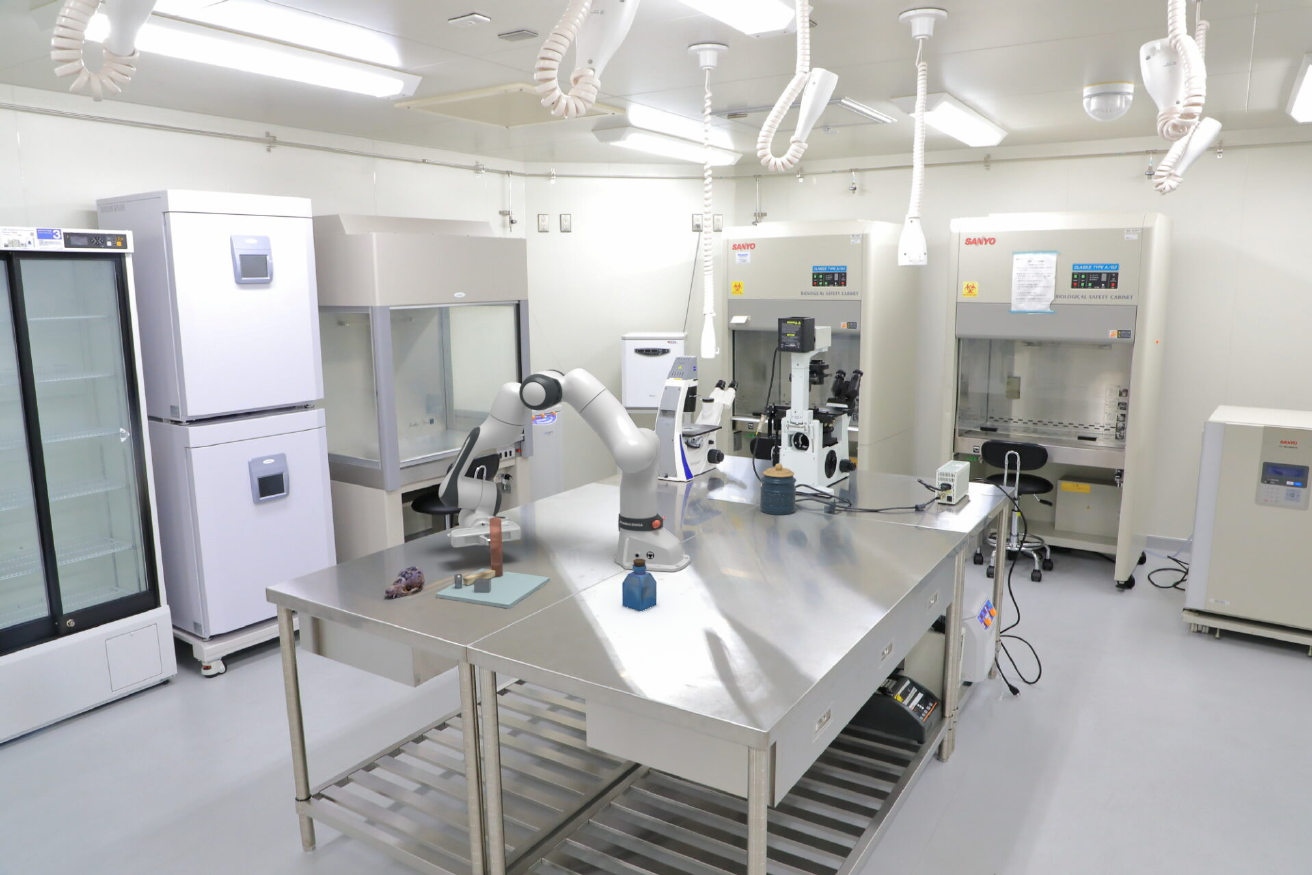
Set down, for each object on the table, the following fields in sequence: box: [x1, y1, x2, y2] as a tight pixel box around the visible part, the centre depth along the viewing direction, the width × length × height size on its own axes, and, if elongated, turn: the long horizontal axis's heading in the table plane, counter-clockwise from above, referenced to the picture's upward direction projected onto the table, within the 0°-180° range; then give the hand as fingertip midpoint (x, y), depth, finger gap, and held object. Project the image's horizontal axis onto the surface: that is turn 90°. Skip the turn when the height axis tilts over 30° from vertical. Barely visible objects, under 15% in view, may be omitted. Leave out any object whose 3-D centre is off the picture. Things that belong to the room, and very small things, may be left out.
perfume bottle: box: [621, 559, 658, 612], centre depth 217 cm, size 6×6×12 cm
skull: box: [384, 565, 425, 599], centre depth 227 cm, size 12×8×6 cm, turn 144°
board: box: [435, 568, 551, 609], centre depth 230 cm, size 22×22×1 cm
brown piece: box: [462, 516, 504, 585], centre depth 232 cm, size 12×3×16 cm, turn 139°
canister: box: [759, 463, 797, 516], centre depth 309 cm, size 13×13×18 cm
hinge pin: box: [453, 573, 463, 589], centre depth 227 cm, size 2×2×4 cm
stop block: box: [474, 579, 491, 593], centre depth 225 cm, size 4×2×3 cm, turn 89°
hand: (491, 542), depth 241 cm, fingers closed
